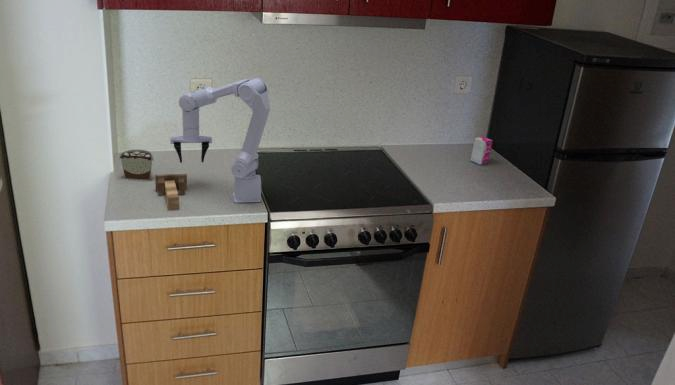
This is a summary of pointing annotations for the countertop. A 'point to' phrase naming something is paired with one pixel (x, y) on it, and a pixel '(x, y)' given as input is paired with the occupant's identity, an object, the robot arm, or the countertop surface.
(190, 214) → the countertop surface
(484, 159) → the supplement box
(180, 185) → the brown wooden stool
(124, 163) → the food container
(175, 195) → the rail
